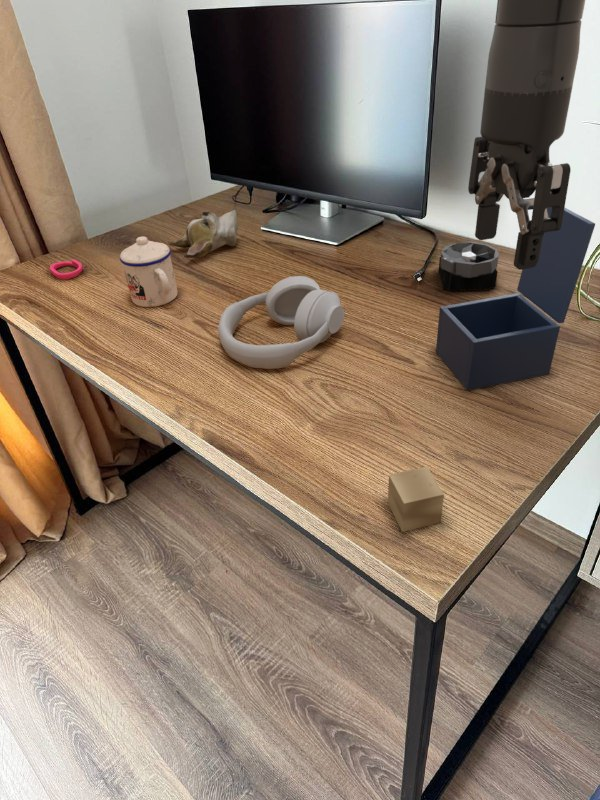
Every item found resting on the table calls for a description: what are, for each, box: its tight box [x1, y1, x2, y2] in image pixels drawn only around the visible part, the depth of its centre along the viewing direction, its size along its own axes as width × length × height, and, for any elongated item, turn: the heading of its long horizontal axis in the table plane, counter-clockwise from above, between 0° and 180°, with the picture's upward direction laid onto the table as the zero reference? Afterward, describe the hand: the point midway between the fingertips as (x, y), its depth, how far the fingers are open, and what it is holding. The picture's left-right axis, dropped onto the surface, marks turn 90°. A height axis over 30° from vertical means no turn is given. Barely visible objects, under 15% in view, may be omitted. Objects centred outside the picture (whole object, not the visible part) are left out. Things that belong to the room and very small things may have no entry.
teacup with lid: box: [119, 236, 178, 308], centre depth 107 cm, size 12×9×12 cm
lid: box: [516, 207, 596, 324], centre depth 79 cm, size 14×11×1 cm
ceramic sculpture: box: [167, 209, 239, 259], centre depth 125 cm, size 11×9×15 cm
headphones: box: [217, 275, 345, 370], centre depth 94 cm, size 18×8×20 cm
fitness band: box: [49, 258, 85, 281], centre depth 123 cm, size 8×6×2 cm
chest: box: [435, 292, 561, 391], centre depth 84 cm, size 13×11×8 cm
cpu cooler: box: [438, 241, 500, 292], centre depth 107 cm, size 10×6×10 cm
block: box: [387, 465, 445, 533], centre depth 63 cm, size 4×4×4 cm
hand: (503, 252), depth 63 cm, fingers open, 8 cm apart
